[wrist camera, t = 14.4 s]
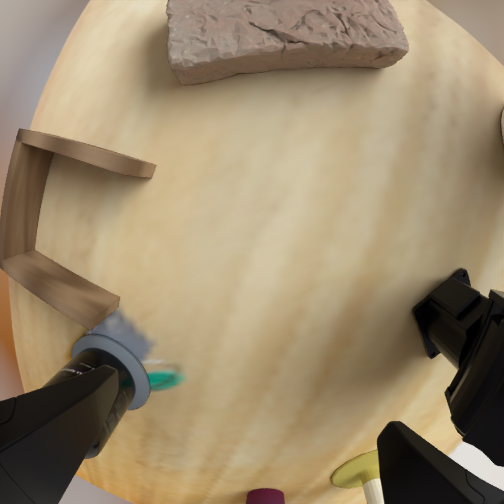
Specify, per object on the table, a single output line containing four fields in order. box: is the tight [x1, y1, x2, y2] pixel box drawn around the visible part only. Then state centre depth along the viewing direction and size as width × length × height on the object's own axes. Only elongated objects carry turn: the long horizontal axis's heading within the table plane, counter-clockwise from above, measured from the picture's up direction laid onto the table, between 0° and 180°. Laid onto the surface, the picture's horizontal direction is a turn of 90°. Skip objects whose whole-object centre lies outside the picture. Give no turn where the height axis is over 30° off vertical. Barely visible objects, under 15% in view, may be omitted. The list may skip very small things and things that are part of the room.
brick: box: [166, 0, 409, 85], centre depth 14 cm, size 17×8×5 cm, turn 99°
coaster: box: [71, 334, 150, 410], centre depth 22 cm, size 9×9×1 cm
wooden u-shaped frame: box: [0, 129, 156, 330], centre depth 17 cm, size 12×12×4 cm
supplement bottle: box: [42, 347, 136, 459], centre depth 16 cm, size 7×7×12 cm
